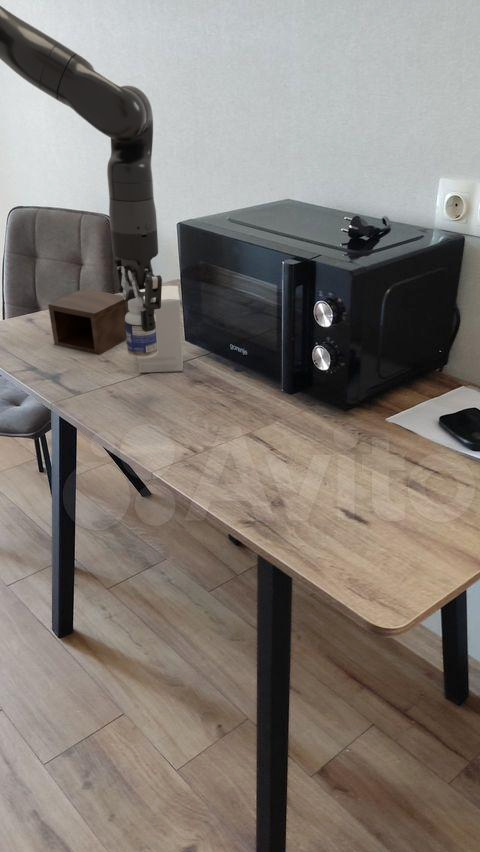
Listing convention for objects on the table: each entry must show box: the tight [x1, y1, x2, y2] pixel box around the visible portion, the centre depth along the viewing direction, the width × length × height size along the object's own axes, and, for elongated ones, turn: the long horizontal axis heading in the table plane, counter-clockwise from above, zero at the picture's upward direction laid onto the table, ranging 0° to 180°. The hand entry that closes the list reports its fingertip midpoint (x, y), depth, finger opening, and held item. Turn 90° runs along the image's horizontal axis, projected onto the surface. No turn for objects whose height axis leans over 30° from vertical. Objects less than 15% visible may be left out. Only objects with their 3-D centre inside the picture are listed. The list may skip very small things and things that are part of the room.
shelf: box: [47, 288, 127, 355], centre depth 152 cm, size 12×12×9 cm
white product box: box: [137, 285, 184, 374], centre depth 141 cm, size 9×9×15 cm
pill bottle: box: [125, 298, 158, 360], centre depth 124 cm, size 5×5×10 cm
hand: (141, 324), depth 124 cm, fingers closed on pill bottle, 5 cm apart
